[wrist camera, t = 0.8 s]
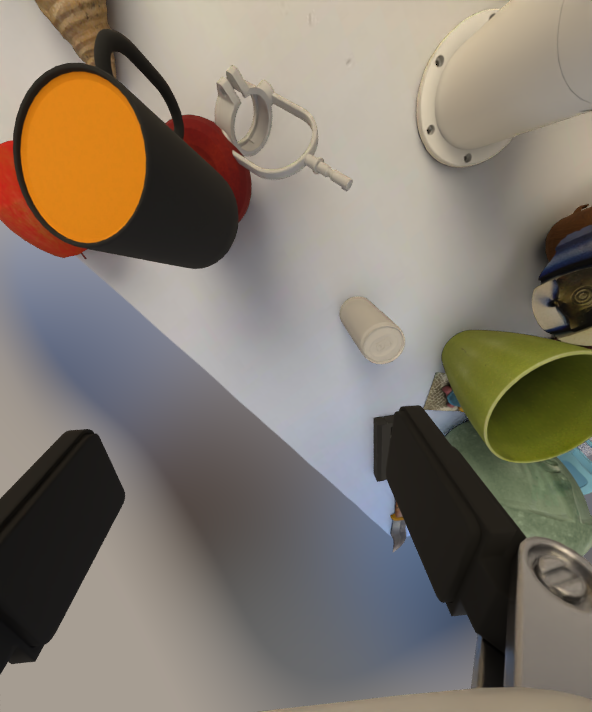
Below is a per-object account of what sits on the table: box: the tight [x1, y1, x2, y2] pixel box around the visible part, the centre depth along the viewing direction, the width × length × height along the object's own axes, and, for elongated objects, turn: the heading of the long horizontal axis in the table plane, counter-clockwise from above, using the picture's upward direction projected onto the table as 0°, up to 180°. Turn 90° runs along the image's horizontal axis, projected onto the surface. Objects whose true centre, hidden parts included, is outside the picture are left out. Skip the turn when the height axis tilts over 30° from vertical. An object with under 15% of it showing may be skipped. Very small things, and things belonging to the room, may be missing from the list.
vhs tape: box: [374, 415, 394, 482], centre depth 52 cm, size 14×8×2 cm, turn 7°
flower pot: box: [442, 330, 592, 463], centre depth 37 cm, size 15×15×16 cm
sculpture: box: [445, 421, 592, 556], centre depth 45 cm, size 19×16×20 cm
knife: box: [391, 502, 406, 552], centre depth 63 cm, size 25×1×5 cm
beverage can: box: [340, 297, 405, 364], centre depth 35 cm, size 5×5×12 cm
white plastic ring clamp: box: [215, 65, 353, 191], centre depth 24 cm, size 13×6×6 cm
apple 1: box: [0, 141, 87, 259], centre depth 29 cm, size 8×8×11 cm
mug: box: [13, 29, 239, 269], centre depth 19 cm, size 8×12×10 cm
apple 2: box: [165, 115, 251, 223], centre depth 28 cm, size 10×10×10 cm
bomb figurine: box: [424, 372, 464, 412], centre depth 46 cm, size 8×8×6 cm
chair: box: [557, 439, 592, 495], centre depth 51 cm, size 8×8×12 cm
